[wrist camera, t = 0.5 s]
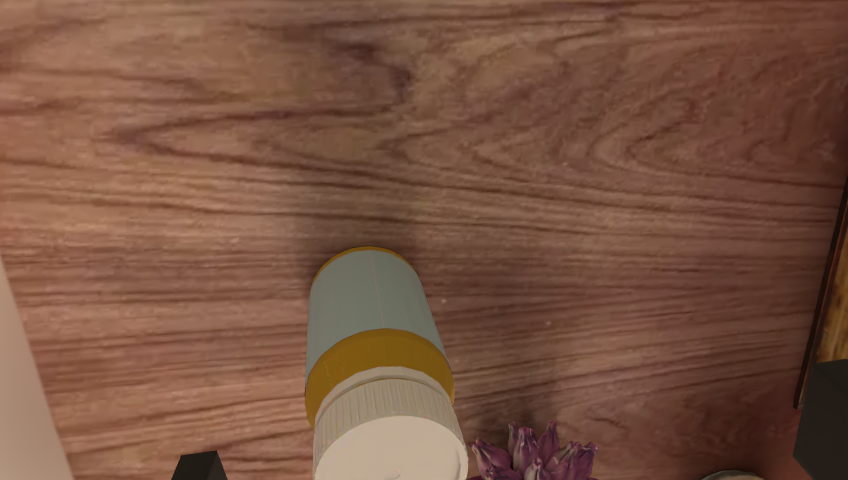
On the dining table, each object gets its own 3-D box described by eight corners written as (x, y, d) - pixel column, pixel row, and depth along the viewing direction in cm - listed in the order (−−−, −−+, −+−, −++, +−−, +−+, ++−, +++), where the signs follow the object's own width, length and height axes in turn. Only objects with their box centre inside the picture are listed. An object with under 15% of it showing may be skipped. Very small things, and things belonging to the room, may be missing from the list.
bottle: (417, 235, 35) (478, 392, 21) (422, 331, 37) (480, 523, 24) (302, 248, 34) (289, 421, 20) (317, 345, 36) (314, 554, 23)
